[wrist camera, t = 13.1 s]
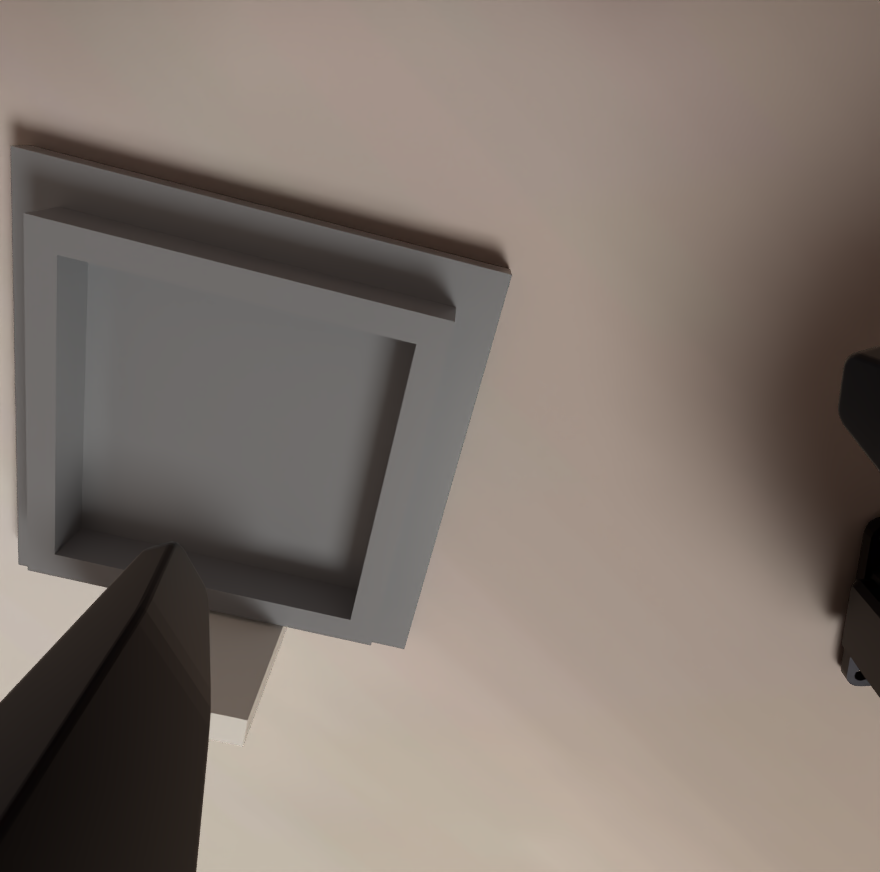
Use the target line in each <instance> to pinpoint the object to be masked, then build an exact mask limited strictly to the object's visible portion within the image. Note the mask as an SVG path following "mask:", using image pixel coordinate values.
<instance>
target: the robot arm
mask: <svg viewBox="0 0 880 872" xmlns="http://www.w3.org/2000/svg"><path fill="white" fill-rule="evenodd" d="M838 411H839V416H840V419H841V421H842V423H843V425H844V426H845V428H846V429H847V430H848V432H849V433H850V434H851V435H852V437H853V438H854V439H855V441H856V442H857V443H858V444H859V446H860V447H861V448H862V450H863V451H864V452H865V453H866V455H867V456H868V457H869V459H870V460H871V461H872V462H873V464H874V465H875V466H876V468H877V469H878V470H879V471H880V346H878V347H874V348H870V349H866V350H863V351H859V352H856V353H853V354H851V355H850V356H849V357H848V358H847V359H846V361H845V363H844V367H843V375H842V382H841V389H840V396H839V403H838ZM842 646H843V648H844V653H843V658H842V664H841V672H842V673H843V674H844V676H845V677H846V679H847V680H848V682H849V683H850V684H852V685H854V686H872V688H873V689H874V690H875V692H876V693H877V694H878V696H879V697H880V517H879V518H876V519H874V520H872V521H871V522H870V523H869V524H868V525H867V526H866V528H865V531H864V535H863V541H862V547H861V553H860V559H859V565H858V571H857V576H856V580H855V582H854V583H853V585H852V586H851V591H850V597H849V603H848V609H847V615H846V621H845V627H844V632H843V638H842ZM859 670H860V671H859ZM857 671H858V672H857ZM210 718H211V665H210V626H209V599H208V594H207V590H206V587H205V585H204V583H203V581H202V579H201V578H200V576H199V574H198V572H197V571H196V569H195V567H194V565H193V564H192V562H191V560H190V558H189V557H188V555H187V553H186V551H185V550H184V548H183V547H182V546H181V545H180V544H179V543H177V542H174V541H172V542H168V543H164V544H160V545H157V546H153V547H150V548H147V549H145V550H143V551H142V552H141V553H140V554H139V555H138V556H137V557H136V558H135V559H134V560H133V561H132V562H131V564H130V565H129V566H128V567H127V568H126V569H125V570H124V571H123V572H122V573H121V574H120V575H119V576H118V577H117V578H116V580H115V581H114V582H113V583H112V584H111V585H110V586H109V587H108V588H107V589H106V590H105V591H104V592H103V593H102V594H101V596H100V597H99V598H98V599H97V600H96V601H95V602H94V603H93V604H92V605H91V606H90V607H89V608H88V609H87V610H86V612H85V613H84V614H83V615H82V616H81V617H80V618H79V619H78V620H77V621H76V622H75V623H74V624H73V625H72V626H71V627H70V629H69V630H68V631H67V632H66V633H65V634H64V635H63V636H62V637H61V638H60V639H59V640H58V641H57V642H56V643H55V645H54V646H53V647H52V648H51V649H50V650H49V651H48V652H47V653H46V654H45V655H44V656H43V657H42V658H41V659H40V660H39V662H38V663H37V664H36V665H35V666H34V667H33V668H32V669H31V670H30V671H29V672H28V673H27V674H26V675H25V676H24V678H23V679H22V680H21V681H20V682H19V683H18V684H17V685H16V686H15V687H14V688H13V689H12V690H11V691H10V692H9V693H8V695H7V696H6V697H5V698H4V699H3V700H2V701H1V702H0V872H196V868H197V858H198V847H199V837H200V826H201V816H202V805H203V794H204V784H205V773H206V763H207V752H208V742H209V731H210Z"/></svg>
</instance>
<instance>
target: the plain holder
mask: <svg viewBox="0 0 880 872" xmlns="http://www.w3.org/2000/svg"><path fill="white" fill-rule="evenodd" d="M11 194H12V247H13V299H14V352H15V404H16V457H17V510H18V562H19V565H24V566H28V570H30V571H34V572H39V573H43V574H48V575H52V576H57V577H61V578H66V579H71V580H75V581H80V582H84V583H89V584H93V585H98V586H103V587H107V588H108V587H109V586H110V585H111V584H112V583H113V582H114V581H115V580H116V578H117V577H118V576H119V575H120V574H121V573H122V572H123V571H124V570H125V569H126V568H127V567H128V566H129V565H130V564H131V562H132V561H133V560H134V559H135V558H136V557H137V556H138V555H139V554H140V553H141V552H142V551H143V550H145V549H147V548H150V547H153V546H157V545H160V544H164V543H168V542H172V541H174V542H177V543H179V544H180V545H181V546H182V547H183V548H184V550H185V551H186V553H187V555H188V557H189V558H190V560H191V562H192V564H193V565H194V567H195V569H196V571H197V572H198V574H199V576H200V578H201V579H202V581H203V583H204V585H205V587H206V590H207V594H208V599H209V626H210V665H211V718H210V731H209V740H212V741H217V742H222V743H227V744H232V745H237V746H241V747H243V745H244V743H245V740H246V737H247V735H248V732H249V729H250V727H251V724H252V721H253V718H254V716H255V713H256V710H257V708H258V705H259V702H260V699H261V697H262V694H263V691H264V689H265V686H266V683H267V680H268V678H269V675H270V672H271V670H272V667H273V664H274V662H275V659H276V656H277V653H278V651H279V648H280V645H281V643H282V640H283V637H284V634H285V632H286V629H287V627H289V628H294V629H299V630H303V631H308V632H312V633H317V634H321V635H326V636H330V637H335V638H340V639H344V640H349V641H353V642H358V643H362V644H367V645H371V643H372V642H374V643H379V644H383V645H388V646H393V647H397V648H402V649H404V648H405V645H406V641H407V638H408V634H409V631H410V627H411V624H412V620H413V617H414V613H415V610H416V606H417V603H418V599H419V596H420V593H421V589H422V586H423V582H424V579H425V575H426V572H427V568H428V565H429V561H430V558H431V554H432V551H433V547H434V544H435V540H436V537H437V533H438V530H439V526H440V523H441V520H442V516H443V513H444V509H445V506H446V502H447V499H448V495H449V492H450V488H451V485H452V481H453V478H454V474H455V471H456V467H457V464H458V460H459V457H460V453H461V450H462V447H463V443H464V440H465V436H466V433H467V429H468V426H469V422H470V419H471V415H472V412H473V408H474V405H475V401H476V398H477V394H478V391H479V387H480V384H481V380H482V377H483V374H484V370H485V367H486V363H487V360H488V356H489V353H490V349H491V346H492V342H493V339H494V335H495V332H496V328H497V325H498V321H499V318H500V314H501V311H502V307H503V304H504V301H505V297H506V294H507V290H508V287H509V283H510V280H511V276H512V274H511V270H510V269H507V268H503V267H499V266H496V265H492V264H488V263H484V262H480V261H476V260H472V259H469V258H465V257H461V256H457V255H453V254H449V253H445V252H441V251H438V250H434V249H430V248H426V247H422V246H418V245H414V244H410V243H407V242H403V241H399V240H395V239H391V238H387V237H383V236H379V235H376V234H372V233H368V232H364V231H360V230H356V229H352V228H348V227H345V226H341V225H337V224H333V223H329V222H325V221H321V220H317V219H314V218H310V217H306V216H302V215H298V214H294V213H290V212H287V211H283V210H279V209H275V208H271V207H267V206H263V205H259V204H256V203H252V202H248V201H244V200H240V199H236V198H232V197H228V196H225V195H221V194H217V193H213V192H209V191H205V190H201V189H197V188H194V187H190V186H186V185H182V184H178V183H174V182H170V181H166V180H163V179H159V178H155V177H151V176H147V175H143V174H139V173H136V172H132V171H128V170H124V169H120V168H116V167H112V166H108V165H105V164H101V163H97V162H93V161H89V160H85V159H81V158H77V157H74V156H70V155H66V154H62V153H58V152H54V151H50V150H46V149H43V148H39V147H35V146H31V145H16V146H11Z"/></svg>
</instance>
